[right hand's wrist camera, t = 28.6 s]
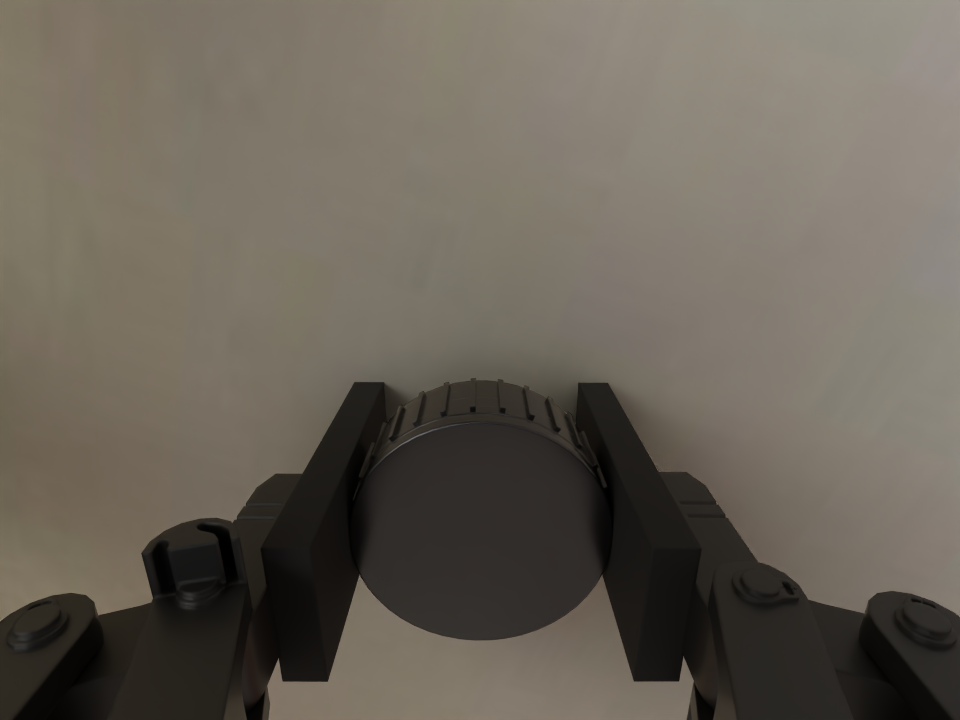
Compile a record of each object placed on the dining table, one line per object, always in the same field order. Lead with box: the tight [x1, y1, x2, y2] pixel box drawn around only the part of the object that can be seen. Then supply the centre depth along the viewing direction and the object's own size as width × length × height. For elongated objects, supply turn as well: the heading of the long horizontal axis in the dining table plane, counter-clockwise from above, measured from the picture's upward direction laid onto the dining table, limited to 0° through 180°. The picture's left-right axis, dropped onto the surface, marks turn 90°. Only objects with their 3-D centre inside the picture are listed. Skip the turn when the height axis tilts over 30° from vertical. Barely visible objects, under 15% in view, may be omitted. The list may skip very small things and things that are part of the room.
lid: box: [349, 378, 613, 640], centre depth 12 cm, size 5×5×2 cm
